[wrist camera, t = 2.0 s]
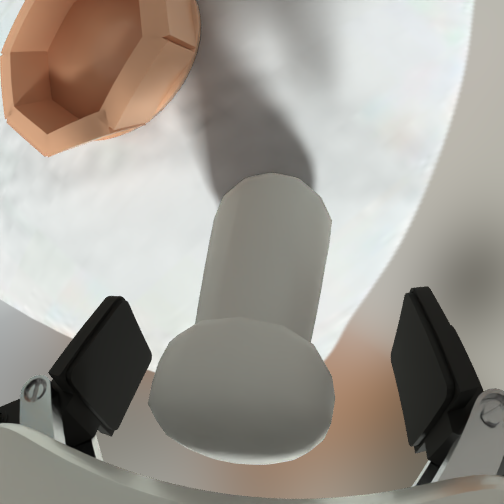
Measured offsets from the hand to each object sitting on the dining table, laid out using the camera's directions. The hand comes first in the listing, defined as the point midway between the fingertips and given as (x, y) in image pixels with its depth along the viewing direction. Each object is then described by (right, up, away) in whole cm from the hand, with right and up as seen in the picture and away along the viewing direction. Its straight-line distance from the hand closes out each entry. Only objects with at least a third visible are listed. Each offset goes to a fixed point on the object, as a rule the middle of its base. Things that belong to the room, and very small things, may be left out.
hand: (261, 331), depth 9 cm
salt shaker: (+1, +5, +7) cm, 9 cm away
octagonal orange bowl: (-9, +15, +3) cm, 18 cm away
